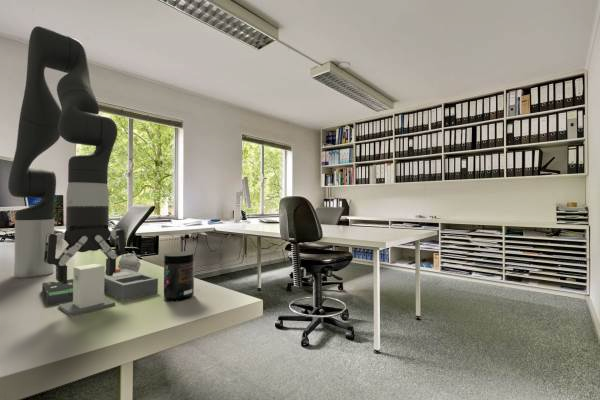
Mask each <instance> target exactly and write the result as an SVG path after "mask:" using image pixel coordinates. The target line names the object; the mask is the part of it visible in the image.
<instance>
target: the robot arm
mask: <svg viewBox="0 0 600 400" xmlns="http://www.w3.org/2000/svg"><path fill="white" fill-rule="evenodd" d="M27 49H28V50H27V63H26V65H27V66H26V77H25V78H26V79H25V87H24V93H23V99H22V103H21V109H20V114H19V120H18V129H17V138H16V148H15V151H14V155H13V161H12V165H11V168H10V172H9V177H8V181H7V182H8V188H7V189H8V192H9V193H10V195H11V196H12V197H15V198H30V199H32V198H33V199H36V198H38V199H40V200H39V202H37V203H36V204H34V205H32V206H29V207H26V208H22V209H18V210H16V211H15V213H14V258H13V259H14V263H13V264H14V265H13V266H14V269H13V271H14V272H13V277H14V278H33V277H34V278H35V277H40V276H47V275H50V274H53V273H54V269H55V280H56V282H60V283H61V284H67V280H68V265H66V264H67V263H68V262H69V260H71V259H72V258H73V257H74V256H75V255H76V254H77V252H78V253H87V252H89V251H90V252H92V251H93V252H96V251H97V252H98V250H99V251H100V252H102V253H103V254H104V255H105V256H106V259H105V270H106V275H107V276H112V275H113V273H115V271H116V268H117V258H118V257H120V256H122V255H126V241H125V240H126V239H125V230H124V229H122V228H121V229H120V228H116V229H113V230H110V228H109V225H110V223H109V217H110V215H109V211H110V210H109V209H110V207H109V205H110V199H109V198H110V195H109V194H110V192H109V187H108V186H109V185H108V183H109V182H108V181H109V180H108V179H109V178H108V175H109V171H108V170H109V163H110V159H111V155H112V152H113V150H114V146H115V144H116V141H117V137H118V132H119V131H118V127H117V123H116V121H114V120H113V119H112V118H111V117H109V116H106V115H102V114H99V113H100V106H99V103H98V101H97V98H96V96H95V94H94V91H93V89H92V85H91V79H90V78H91V77H90V69H89V64H88V58H87V57H88V56H87V52H86V50H85V49H86V48H85V47H84V45H83V43H81V41H79V40H78V39H75V38H74V37H71V36H68V35H66V34H63V33H60V32H58V31H56V30H52V29H49V28H47V27H43V26H39V25H38V26H34V27H33V28H32V30H31V32H30V35H29V41H28V48H27ZM46 68H48V69H52V70H53V71H54V70H55V71H59V72H62V73H65V75H63V76H62V77H61V78H60V79H59V81H58V83H57V84H56V94H57V97H58V100H59V101H58V102H59V103H60V105H59V103H58V102H57V100H56V98H55V97H54V95H53V93H52V91H51V89H50V87H49V85H48V83H47V79H46V77H45V76H46V75H45V69H46ZM60 137H61V138H62V139H63V140H64V141H65V142H68V143H70V144H76V145H83V146H90V147H95V150H94V151H93V152H92V153H90V154H81V155H79V154H78V155H73V156H71V157H70V158H69V159H68V166H67V169H68V171H67V173H68V174H67V176H68V177H67V178H68V179H67V182H68V183H67V189H66V198H65V199H66V200H65V201H66V202H65V206H66V209H65V210H66V213H65V214H66V215H65V231H64V232H63V233H55V207H56V205H55V204H56V193H57V192H56V190H57V188H56V187H57V178H56V177H57V176H56V174H55V172H54V170H52V169H46V168H36V167H35V168H33V167H30V166H31V165H32V163H33V162H34V161H35V160H36V159H37V158H38V157H39V156H40V155H41V154H43V153H45V152H46V151H47V150H48V149H50V148H52V146H53V145H55V144H56V143H57V142H58V141H59V140H60ZM110 237H111V238H112V239H113V240H114V250H113V248H112V247H111V246H110V245H109V244H108V242H107V240H109V238H110ZM62 240H64V241H65V242H66V243H67V246H65V248H64V249H63V250H62V252H61V254H59V256H58V257H56V255H57V254H56V253H57V245H59V244H61V241H62ZM54 266H55V268H54Z"/></svg>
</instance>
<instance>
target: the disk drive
mask: <svg viewBox="0 0 600 400" xmlns="http://www.w3.org/2000/svg"><path fill="white" fill-rule="evenodd" d="M41 288H42V289H41V292H42V295H43V298H44V301H45V304H46V306H53V305H57V304H58V305H60V304H65V303H70V302H73V278H71V279H67V284H61V283H60V282H58V281H49V282H42V286H41Z"/></svg>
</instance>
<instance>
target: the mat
mask: <svg viewBox="0 0 600 400" xmlns="http://www.w3.org/2000/svg"><path fill="white" fill-rule="evenodd" d="M114 306H116V302H115V301H113V300H111V299H109V298H106V297H105V296H104V303H101V304H97V305H92V306H88V307H84V308H79V307H77V306H76V305H74V304H73V301H70V302H65V303H59V304H58V307H57V308H58V309H59V310H61V311H62V312H64V313H65V314H66V315H68V316H70V317H73V316H77V315H83V314H86V313H90V312H95V311H98V310H102V309H105V308H106V309H107V308H110V307H114Z"/></svg>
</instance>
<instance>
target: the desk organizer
mask: <svg viewBox="0 0 600 400" xmlns="http://www.w3.org/2000/svg"><path fill="white" fill-rule="evenodd" d="M158 287H159V278H157V277H154V276H151V275H148V274H145V273H142V272H139V271H138V272H135V271H132V270H128V269H122V270H121V269H120V268H118V267H116V271H115V273H113V275H112V276H107V275H106V269H105V270H104V293H106V294H108V295H110V296H113V297H114V298H117V299H120V300H121V301H127V300H131V299H136V298H140V297H144V296H149V295H153V294H157V293H159V288H158Z"/></svg>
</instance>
